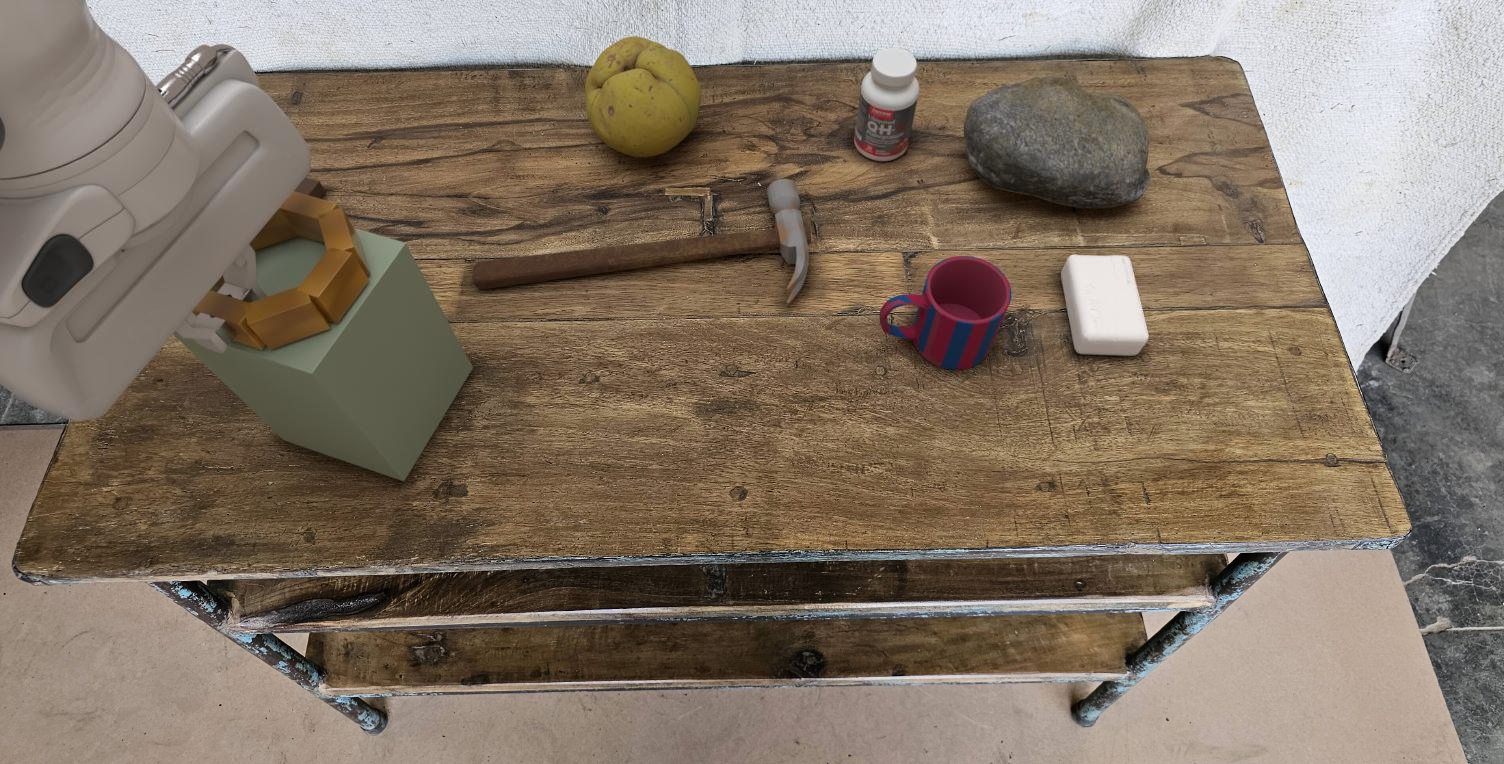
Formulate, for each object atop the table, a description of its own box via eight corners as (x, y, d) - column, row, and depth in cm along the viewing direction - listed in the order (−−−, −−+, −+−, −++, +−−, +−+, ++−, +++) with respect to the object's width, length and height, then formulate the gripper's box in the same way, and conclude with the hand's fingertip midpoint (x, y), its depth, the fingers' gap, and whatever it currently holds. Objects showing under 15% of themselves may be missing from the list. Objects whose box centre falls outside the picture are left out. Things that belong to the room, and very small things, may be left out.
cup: (996, 370, 71) (1017, 323, 65) (876, 370, 71) (886, 323, 65) (985, 305, 74) (1004, 255, 68) (870, 305, 74) (880, 255, 68)
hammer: (471, 216, 77) (799, 176, 78) (481, 237, 79) (799, 198, 81) (467, 330, 70) (824, 284, 72) (477, 348, 73) (823, 304, 74)
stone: (1098, 138, 87) (1147, 54, 79) (1139, 233, 80) (1197, 151, 72) (941, 131, 85) (975, 43, 77) (969, 227, 78) (1010, 142, 69)
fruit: (701, 96, 88) (696, 11, 79) (707, 180, 82) (701, 97, 73) (594, 102, 88) (576, 17, 79) (591, 187, 82) (572, 104, 73)
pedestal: (404, 481, 66) (311, 373, 52) (283, 440, 68) (163, 325, 54) (473, 367, 71) (406, 242, 57) (359, 332, 73) (268, 202, 59)
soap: (1139, 359, 71) (1153, 339, 69) (1073, 357, 71) (1084, 337, 69) (1119, 274, 76) (1132, 252, 73) (1057, 272, 76) (1067, 250, 73)
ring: (307, 365, 52) (285, 339, 50) (169, 320, 54) (142, 293, 51) (396, 244, 57) (380, 215, 55) (268, 206, 59) (247, 177, 56)
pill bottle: (861, 167, 83) (873, 85, 74) (847, 129, 85) (857, 46, 77) (915, 159, 83) (932, 76, 75) (899, 121, 86) (914, 38, 78)
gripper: (174, 12, 46) (292, 192, 58) (-143, 299, 36) (78, 446, 48) (272, 37, 45) (372, 215, 57) (-27, 339, 35) (170, 479, 47)
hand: (236, 323), depth 52 cm, fingers closed on ring
